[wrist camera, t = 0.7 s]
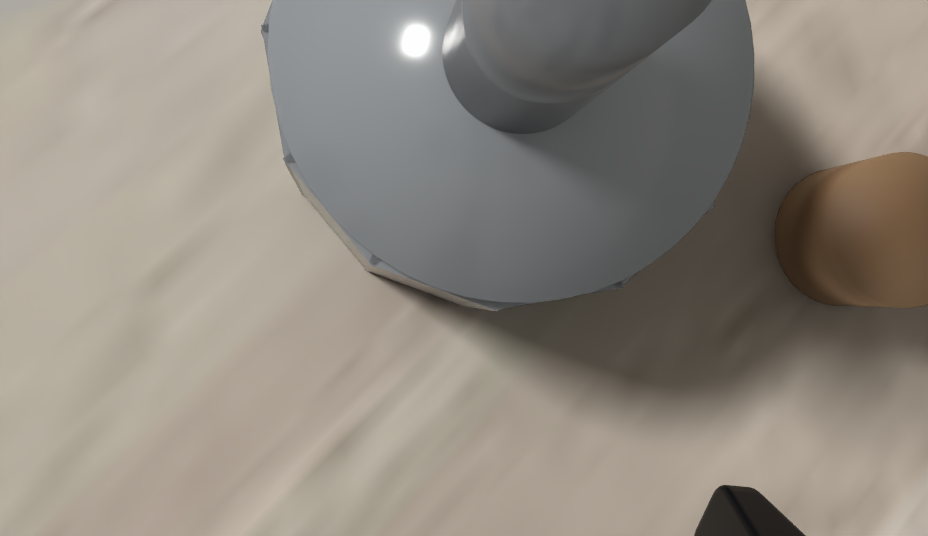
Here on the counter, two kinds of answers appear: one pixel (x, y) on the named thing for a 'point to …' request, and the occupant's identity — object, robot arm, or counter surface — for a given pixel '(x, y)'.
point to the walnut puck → (859, 233)
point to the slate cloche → (510, 134)
